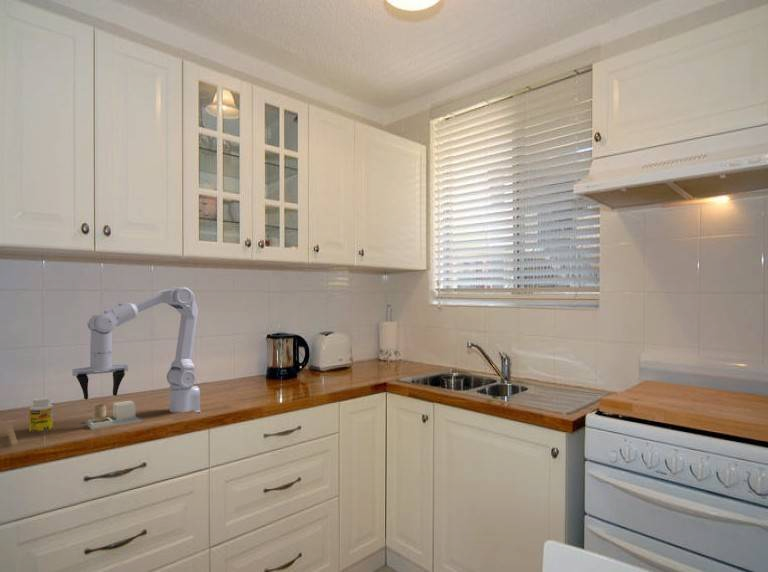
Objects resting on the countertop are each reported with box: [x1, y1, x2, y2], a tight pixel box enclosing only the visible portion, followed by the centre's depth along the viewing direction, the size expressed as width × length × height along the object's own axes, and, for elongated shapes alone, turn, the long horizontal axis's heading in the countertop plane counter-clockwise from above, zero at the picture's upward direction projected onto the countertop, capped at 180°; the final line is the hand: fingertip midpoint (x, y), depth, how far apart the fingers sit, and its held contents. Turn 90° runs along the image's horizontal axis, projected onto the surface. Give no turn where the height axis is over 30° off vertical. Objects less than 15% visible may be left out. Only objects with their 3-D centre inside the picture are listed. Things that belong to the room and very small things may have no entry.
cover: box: [112, 400, 136, 420], centre depth 151 cm, size 5×5×4 cm
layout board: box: [83, 410, 143, 431], centre depth 145 cm, size 14×13×4 cm
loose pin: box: [94, 404, 107, 423], centre depth 141 cm, size 3×3×6 cm
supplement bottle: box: [28, 397, 54, 433], centre depth 137 cm, size 6×6×10 cm
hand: (100, 396), depth 141 cm, fingers open, 7 cm apart
